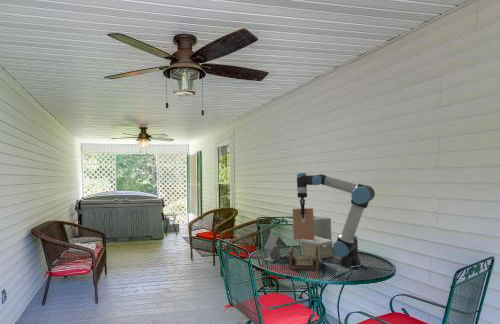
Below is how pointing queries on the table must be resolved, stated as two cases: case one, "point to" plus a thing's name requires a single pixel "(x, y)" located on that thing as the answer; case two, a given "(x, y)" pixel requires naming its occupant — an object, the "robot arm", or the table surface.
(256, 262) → the table surface
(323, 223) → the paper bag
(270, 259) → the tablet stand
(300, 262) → the offcut stack
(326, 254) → the storage basket
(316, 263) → the rack
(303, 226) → the sheet
